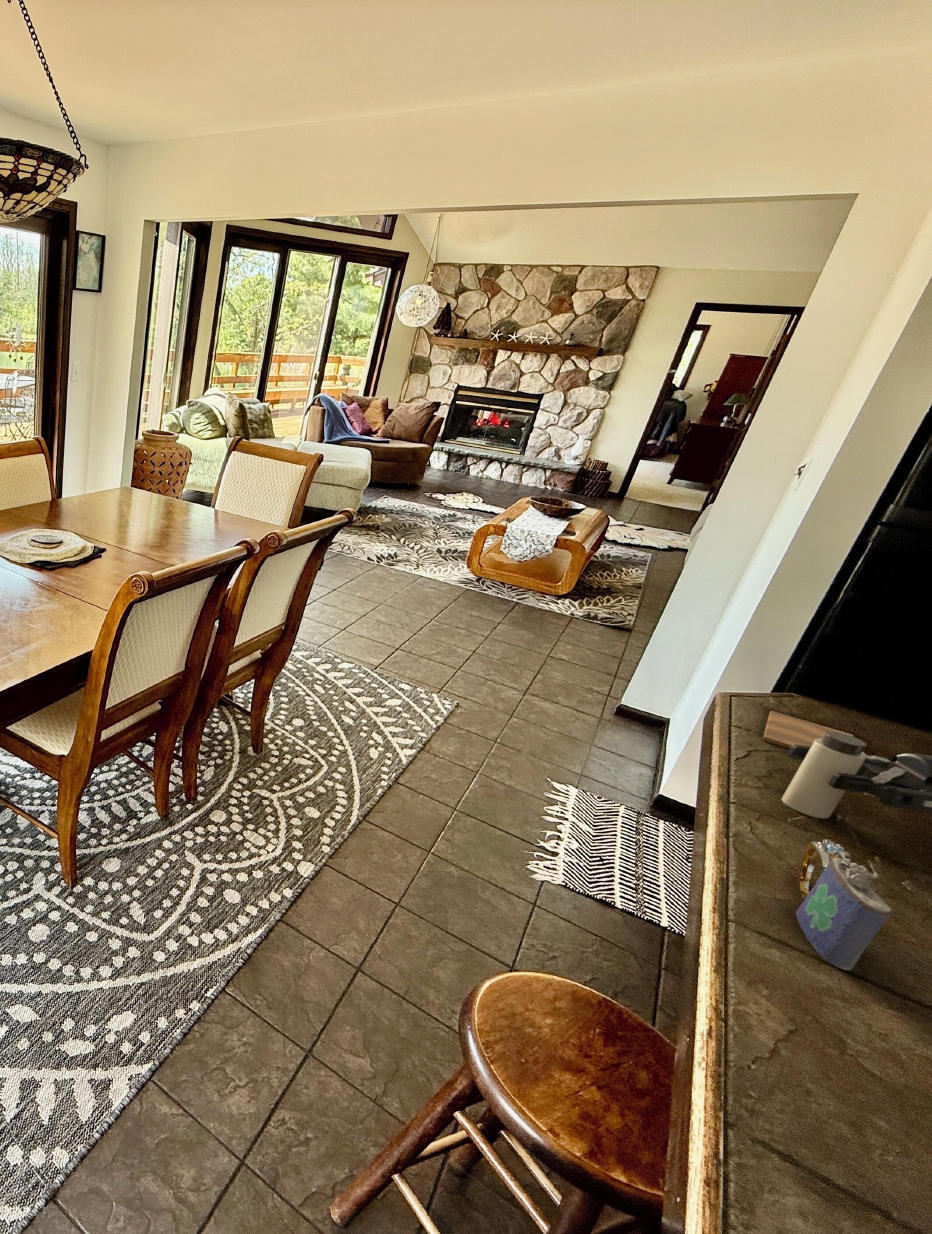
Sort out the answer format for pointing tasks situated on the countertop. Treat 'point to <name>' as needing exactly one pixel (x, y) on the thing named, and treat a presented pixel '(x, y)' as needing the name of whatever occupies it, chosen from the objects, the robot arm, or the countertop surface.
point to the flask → (842, 913)
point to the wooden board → (793, 731)
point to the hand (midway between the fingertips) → (811, 765)
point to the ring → (809, 861)
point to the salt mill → (824, 774)
